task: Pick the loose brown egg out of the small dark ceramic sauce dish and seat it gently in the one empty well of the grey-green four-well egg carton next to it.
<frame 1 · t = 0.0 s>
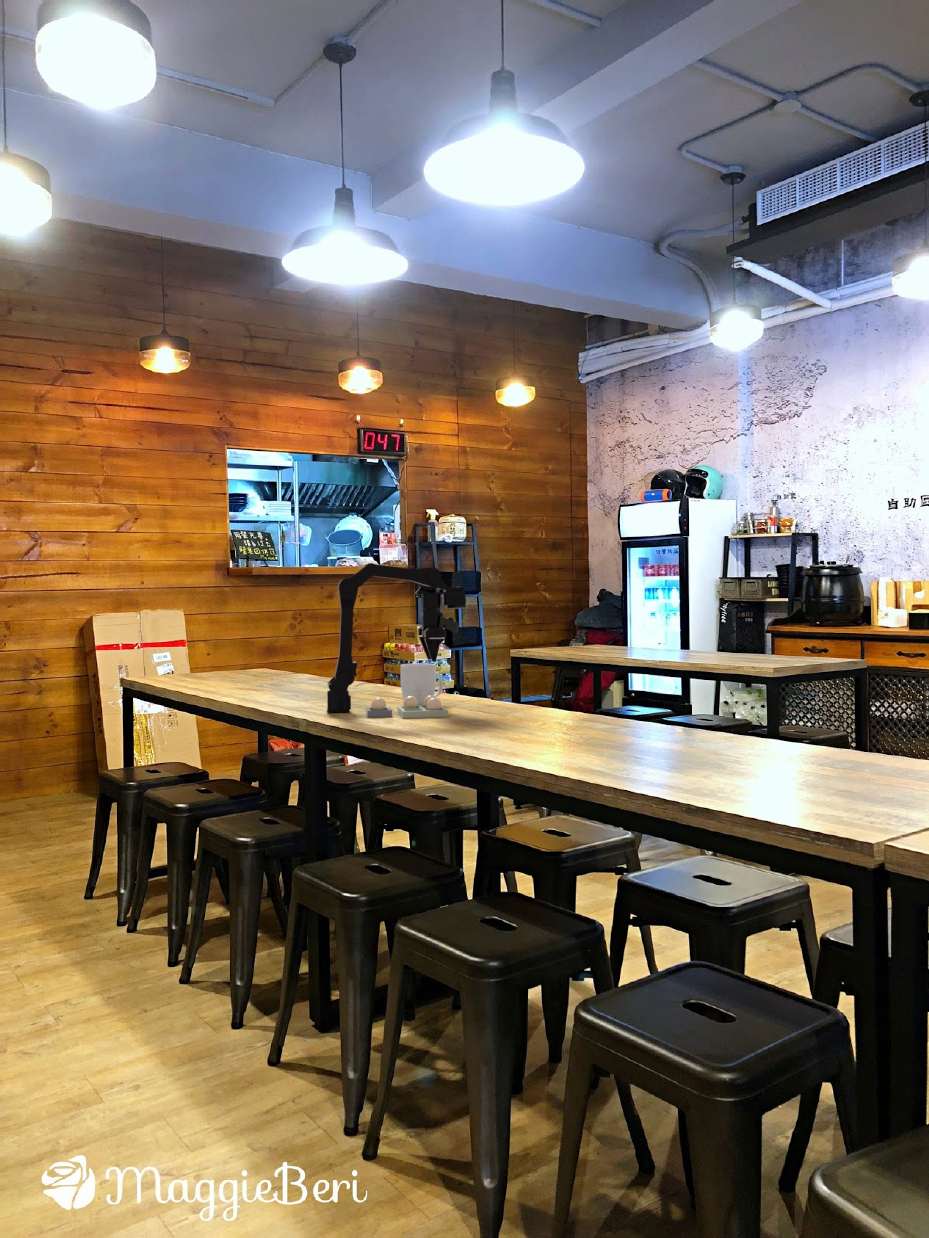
hand: (431, 660, 288), 15 cm above the table, fingers open, 9 cm apart
dish: (378, 715, 273), on the table
carton: (422, 714, 275), on the table
mug: (421, 707, 295), on the table
egg: (378, 704, 273), point 3 cm above the table, touching dish
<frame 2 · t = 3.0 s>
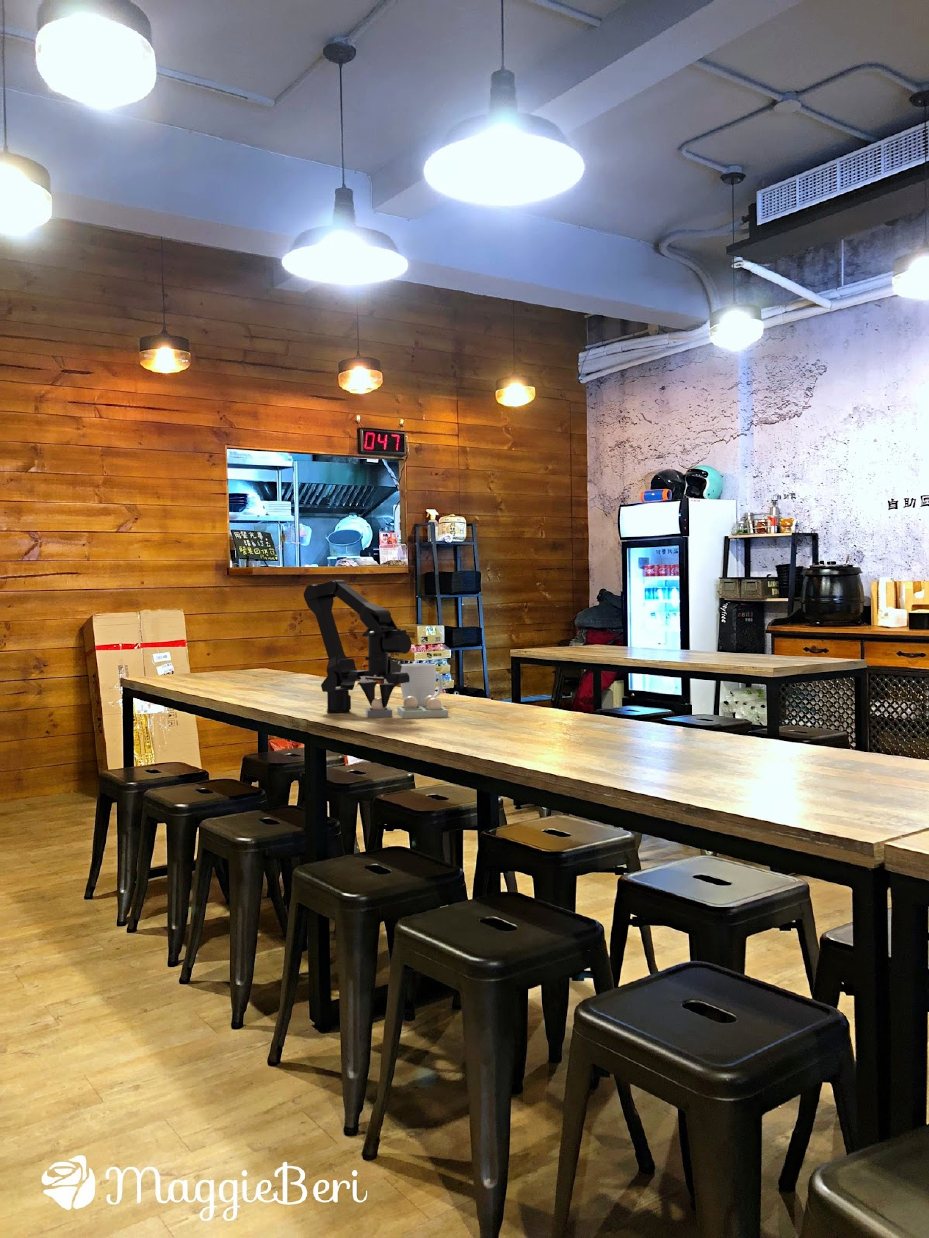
hand: (378, 706, 273), 3 cm above the table, fingers closed on egg, 4 cm apart
egg: (378, 704, 273), point 3 cm above the table, touching dish, gripper
everything else where it was.
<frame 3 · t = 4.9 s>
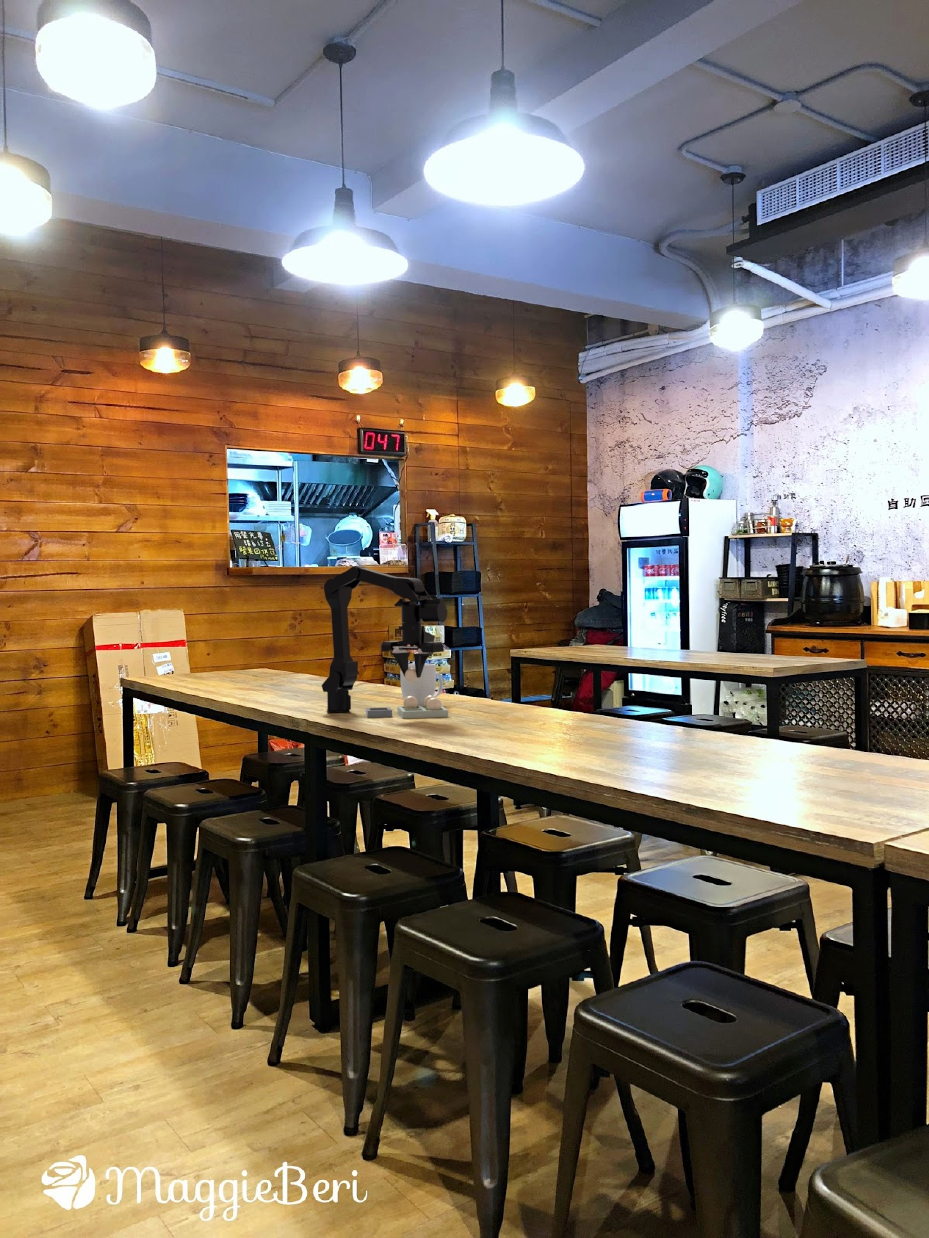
hand: (412, 677, 271), 11 cm above the table, fingers closed on egg, 4 cm apart
egg: (412, 675, 271), point 12 cm above the table, touching gripper
everything else where it was.
when the fingers open (4 cm above the table, at t = 6.9 s): egg drops 2 cm, resting on carton.
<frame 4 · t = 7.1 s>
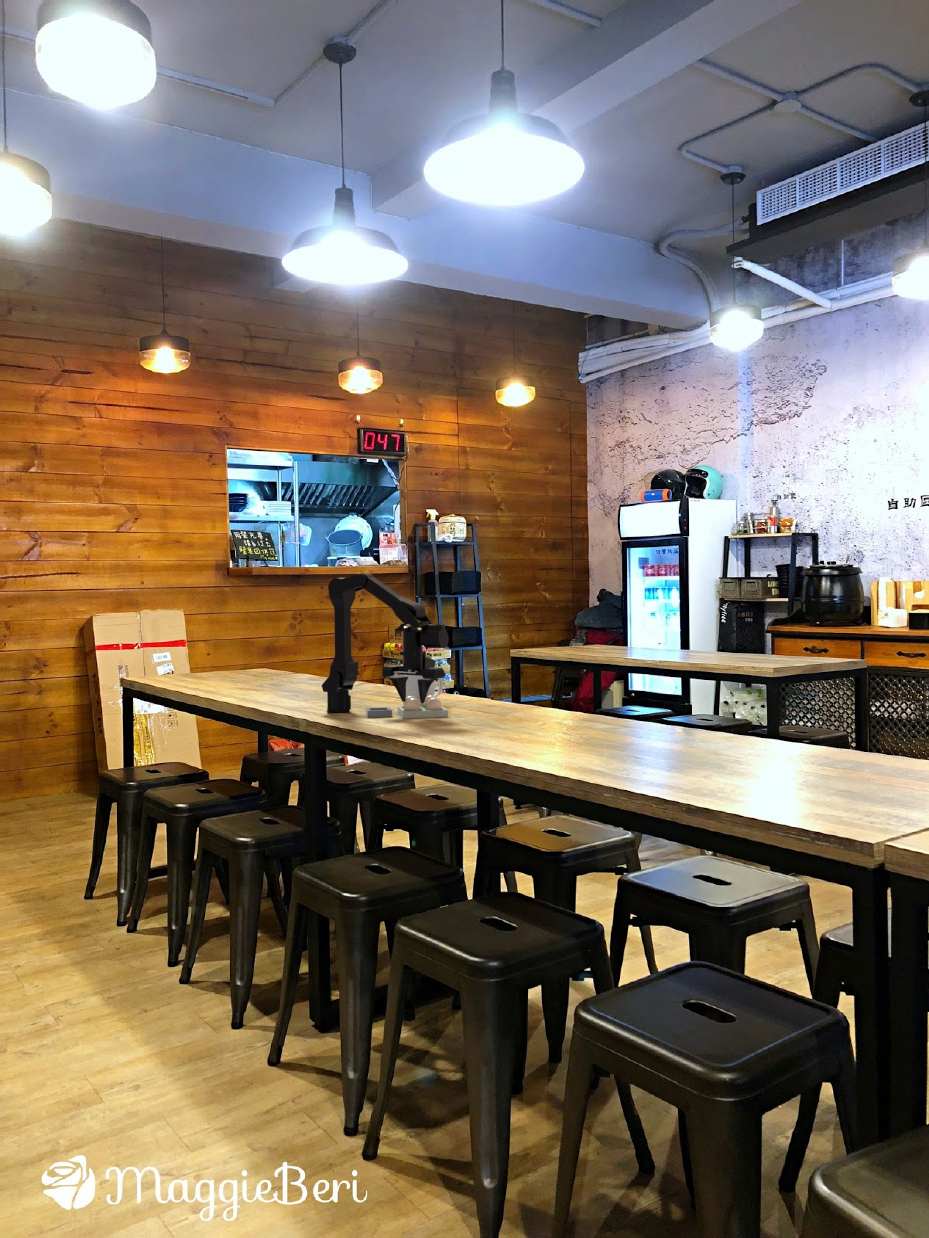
hand: (413, 702, 271), 4 cm above the table, fingers open, 6 cm apart
egg: (413, 705, 271), point 3 cm above the table, touching carton
everything else where it was.
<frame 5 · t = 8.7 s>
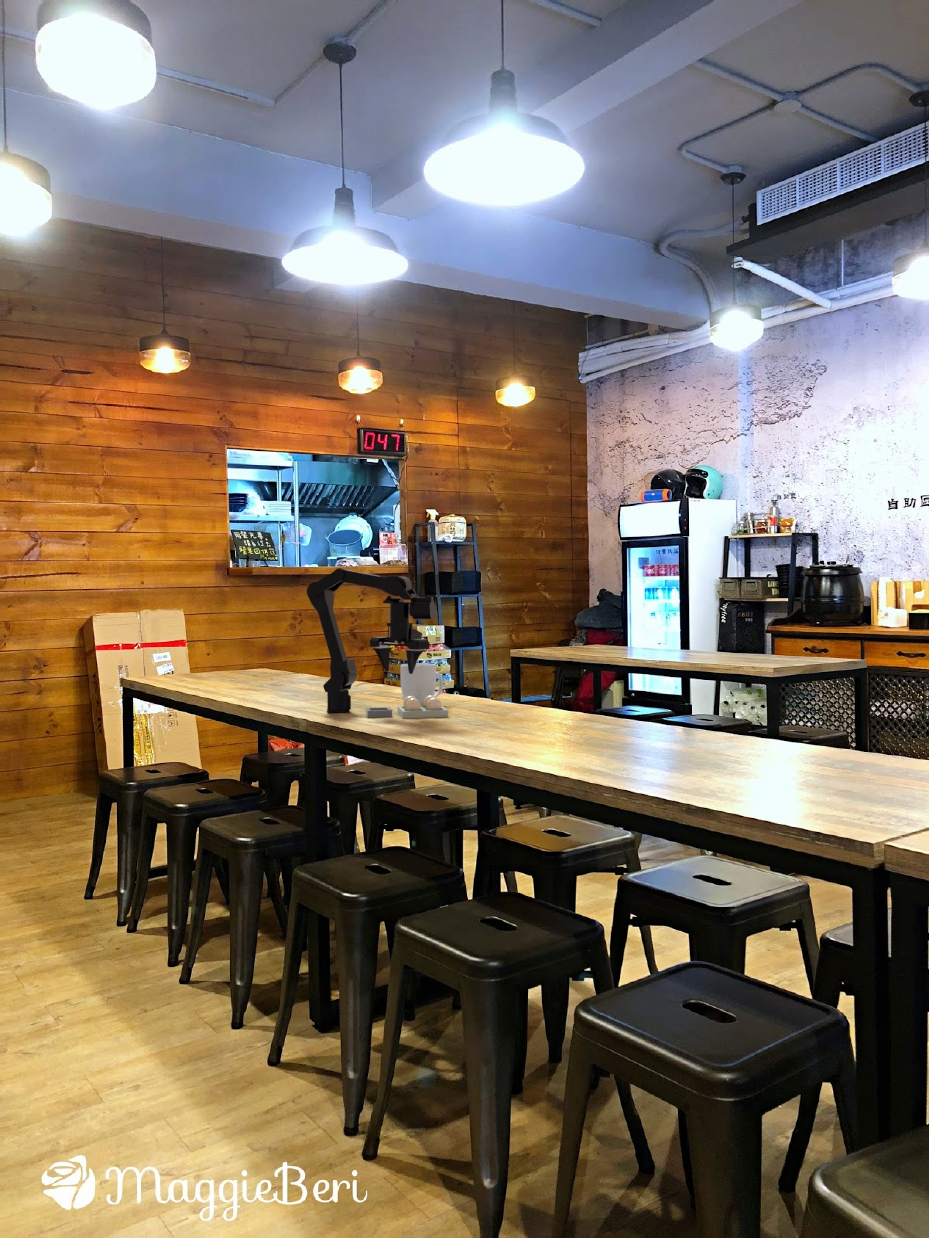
hand: (398, 672, 278), 12 cm above the table, fingers open, 9 cm apart
nothing on the table moved.
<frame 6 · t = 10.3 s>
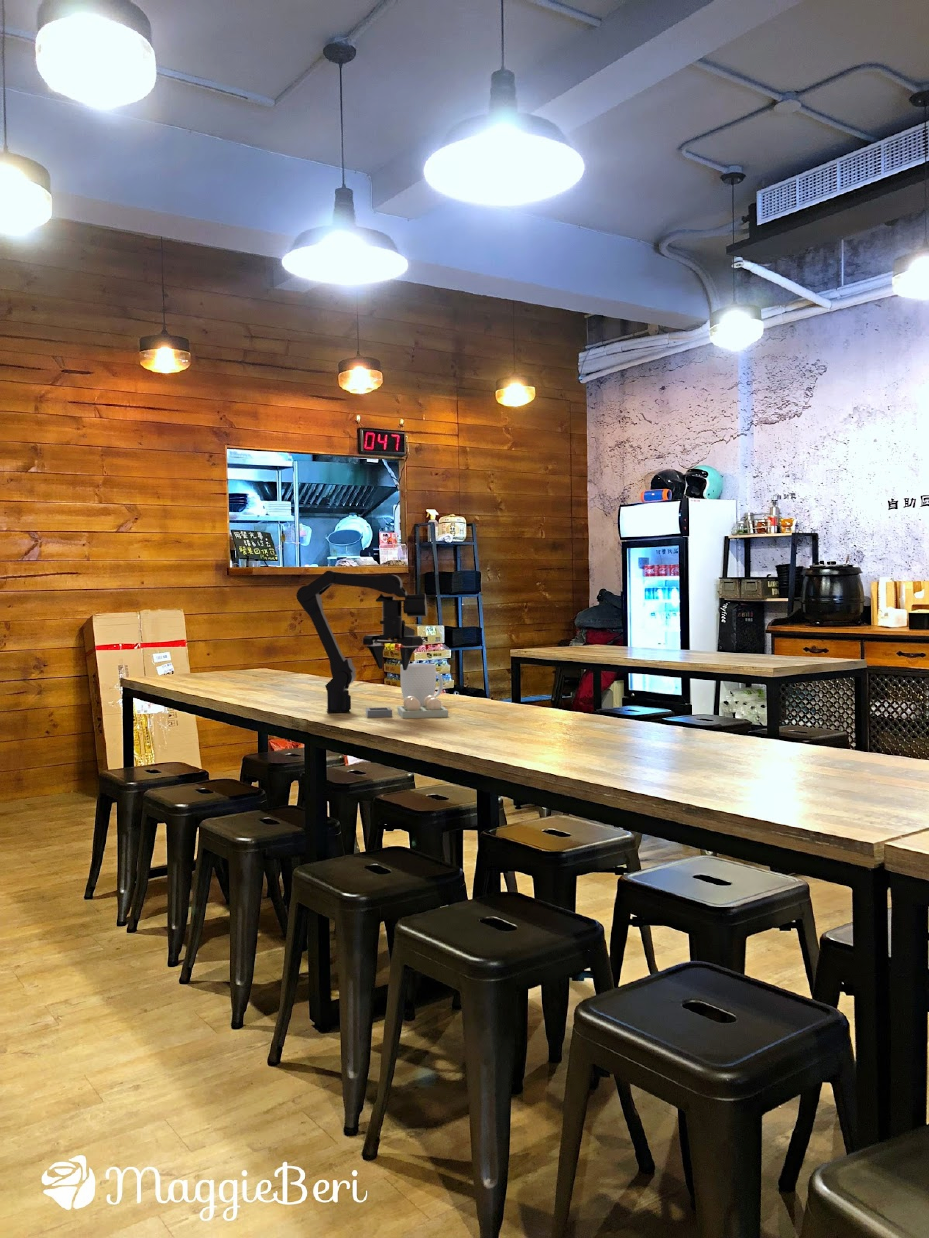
hand: (392, 669, 282), 13 cm above the table, fingers open, 9 cm apart
nothing on the table moved.
at the end: egg 0.1 cm from the target spot on the carton, point 3.1 cm above the carton's base; the gripper is holding nothing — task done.
